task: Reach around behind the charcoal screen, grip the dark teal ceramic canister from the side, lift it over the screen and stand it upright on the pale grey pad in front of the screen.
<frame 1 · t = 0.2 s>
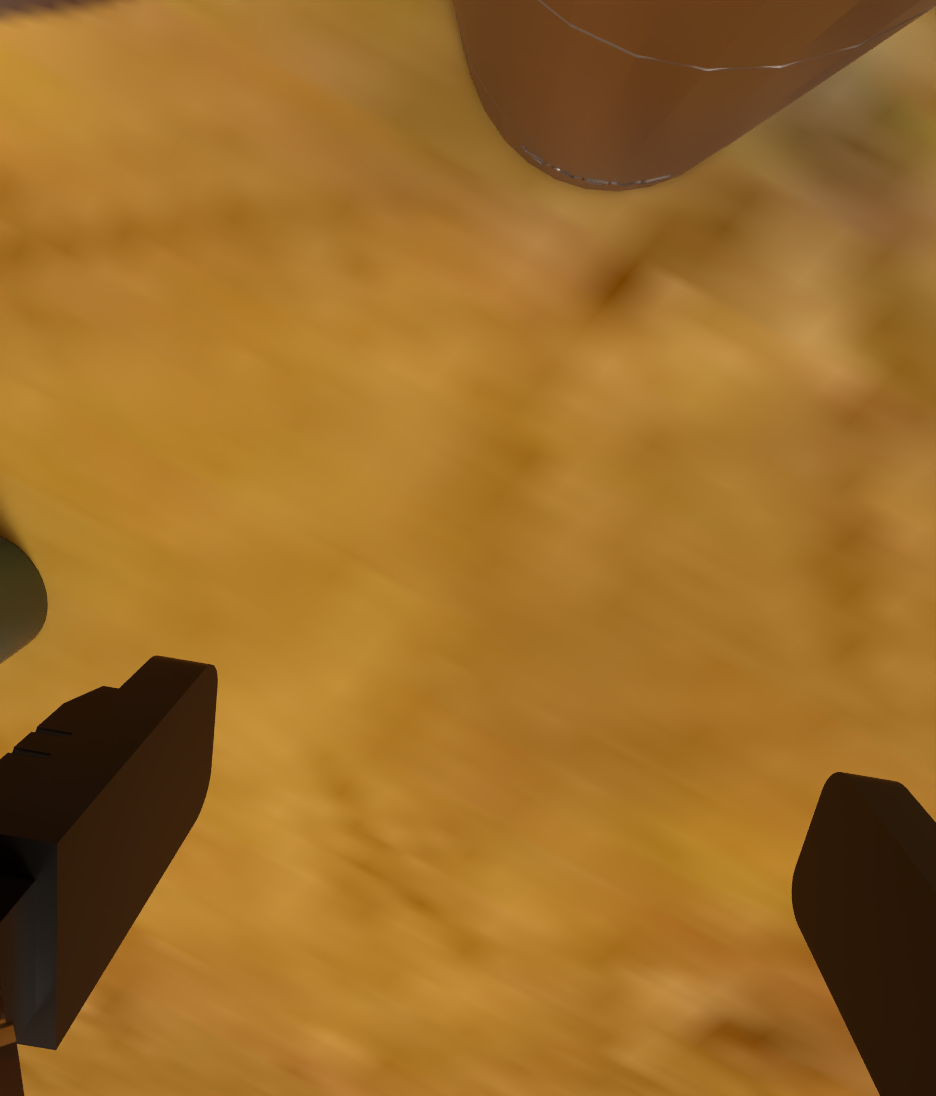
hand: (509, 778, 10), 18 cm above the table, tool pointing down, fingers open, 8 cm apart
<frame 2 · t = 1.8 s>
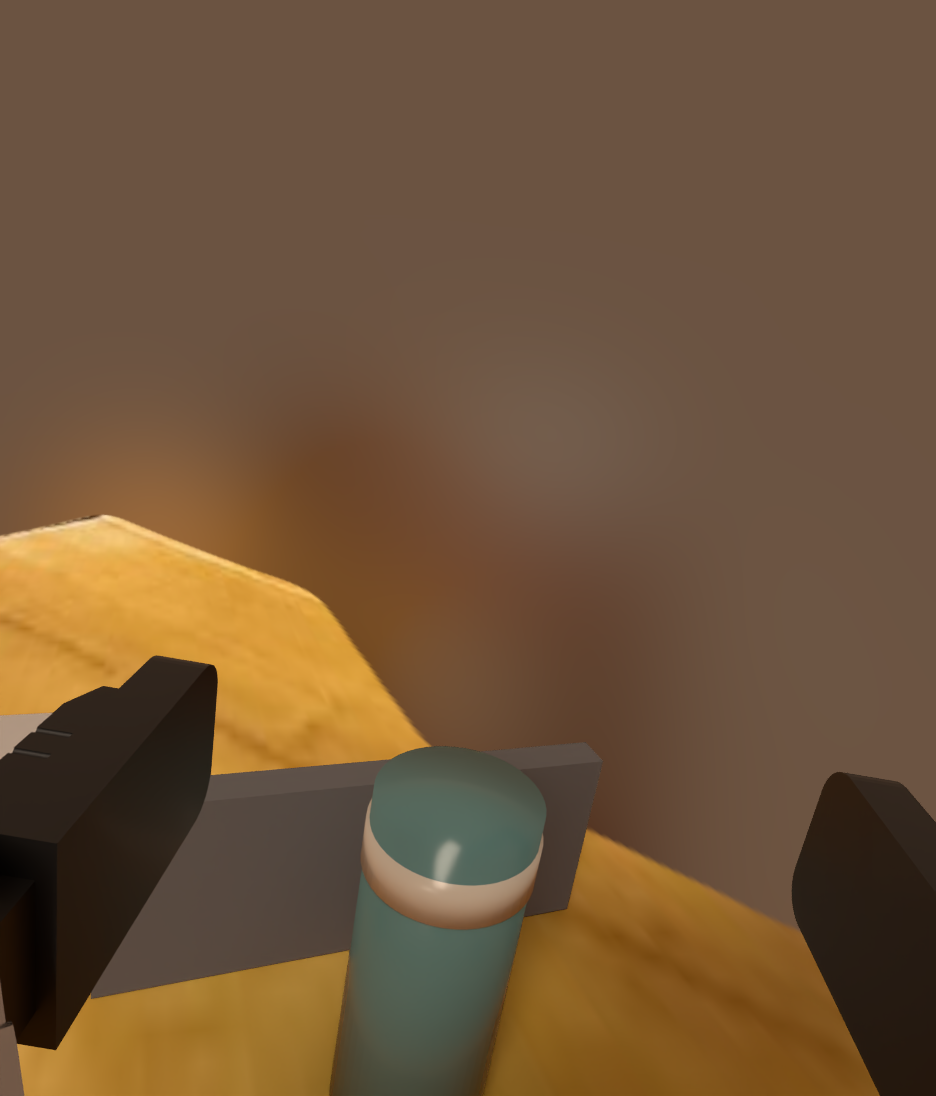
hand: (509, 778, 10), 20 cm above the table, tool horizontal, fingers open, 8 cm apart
screen: (354, 934, 33), on the table
pad: (11, 794, 37), on the table
canister: (405, 1090, 27), on the table
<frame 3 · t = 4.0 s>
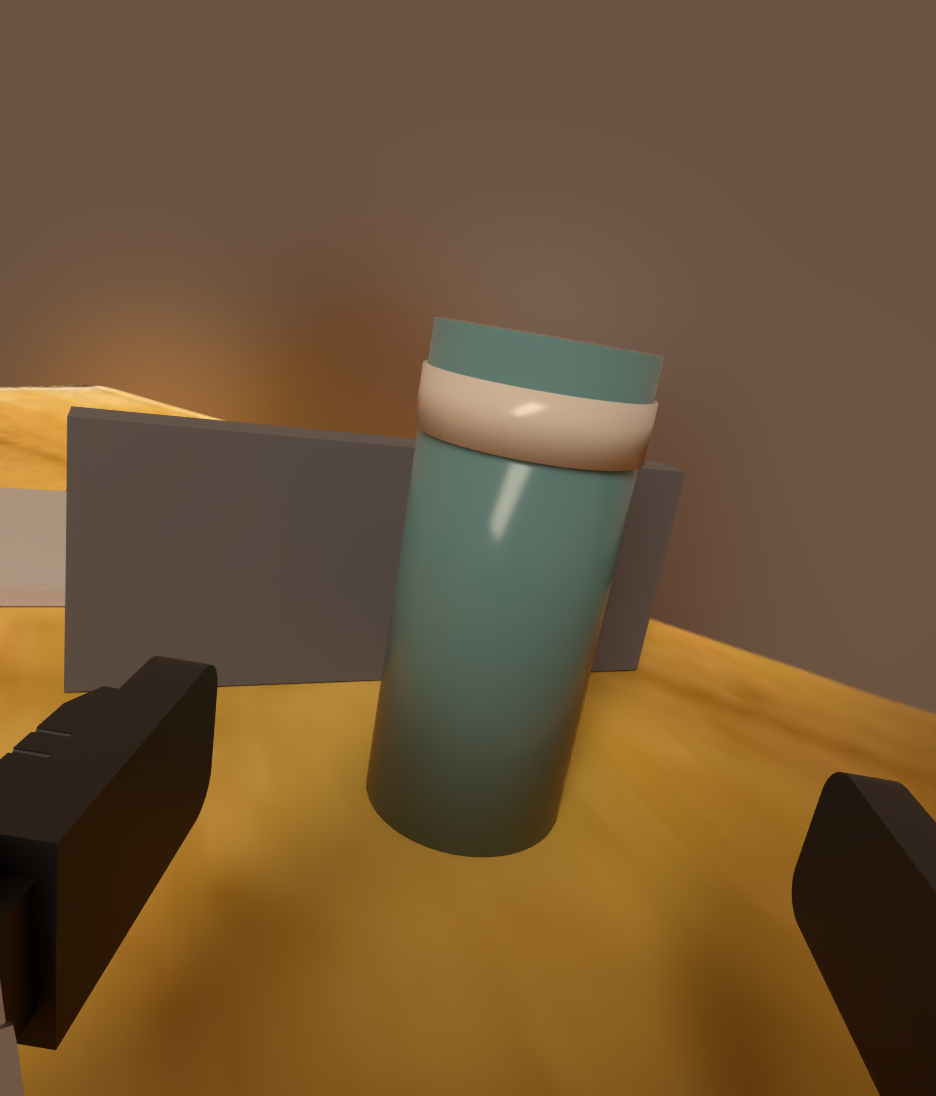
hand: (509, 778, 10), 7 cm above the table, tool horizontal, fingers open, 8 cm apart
screen: (388, 668, 27), on the table
canister: (462, 790, 21), on the table
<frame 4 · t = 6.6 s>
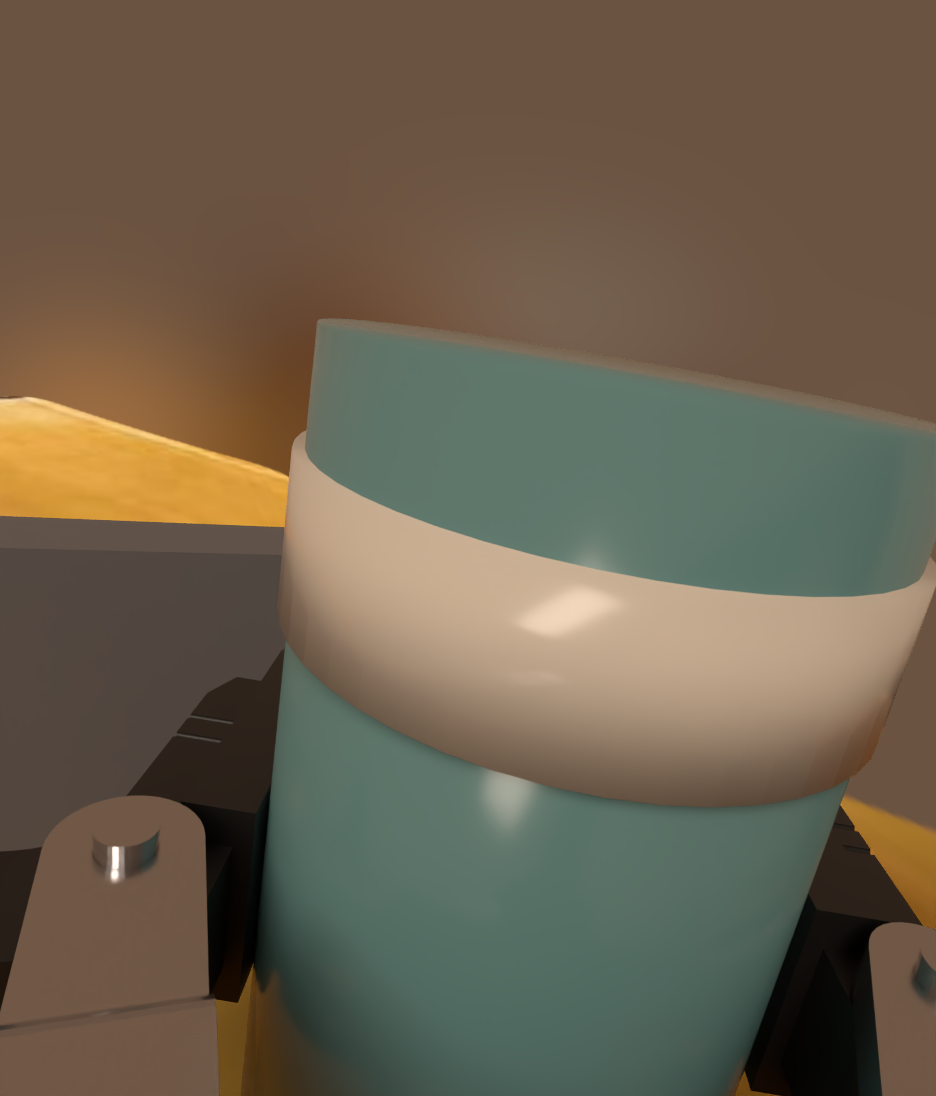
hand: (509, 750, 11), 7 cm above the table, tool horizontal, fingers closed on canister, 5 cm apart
screen: (315, 902, 16), on the table
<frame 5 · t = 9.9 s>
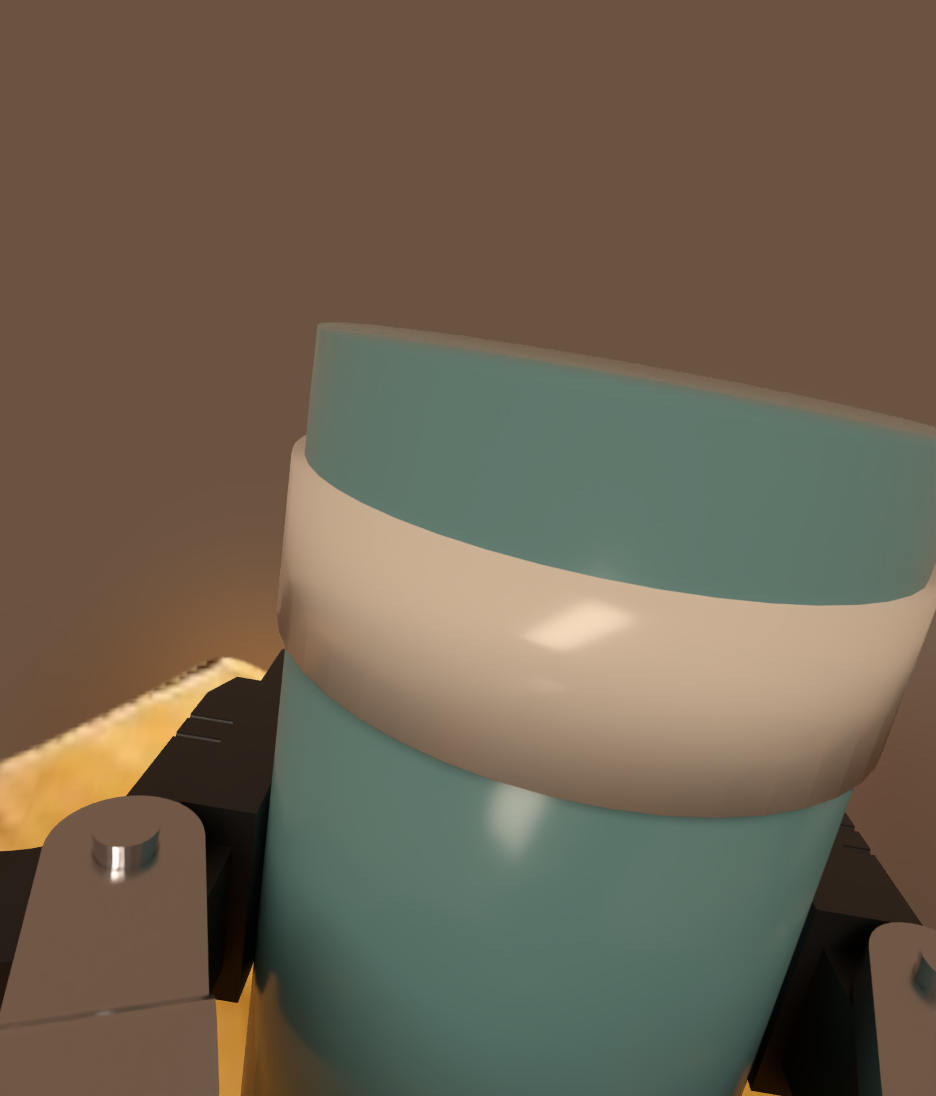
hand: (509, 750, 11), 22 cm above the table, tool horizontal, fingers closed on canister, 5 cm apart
when the fingers open (8 cm above the table, at t = 13.1 s): canister drops 1 cm, resting on pad.
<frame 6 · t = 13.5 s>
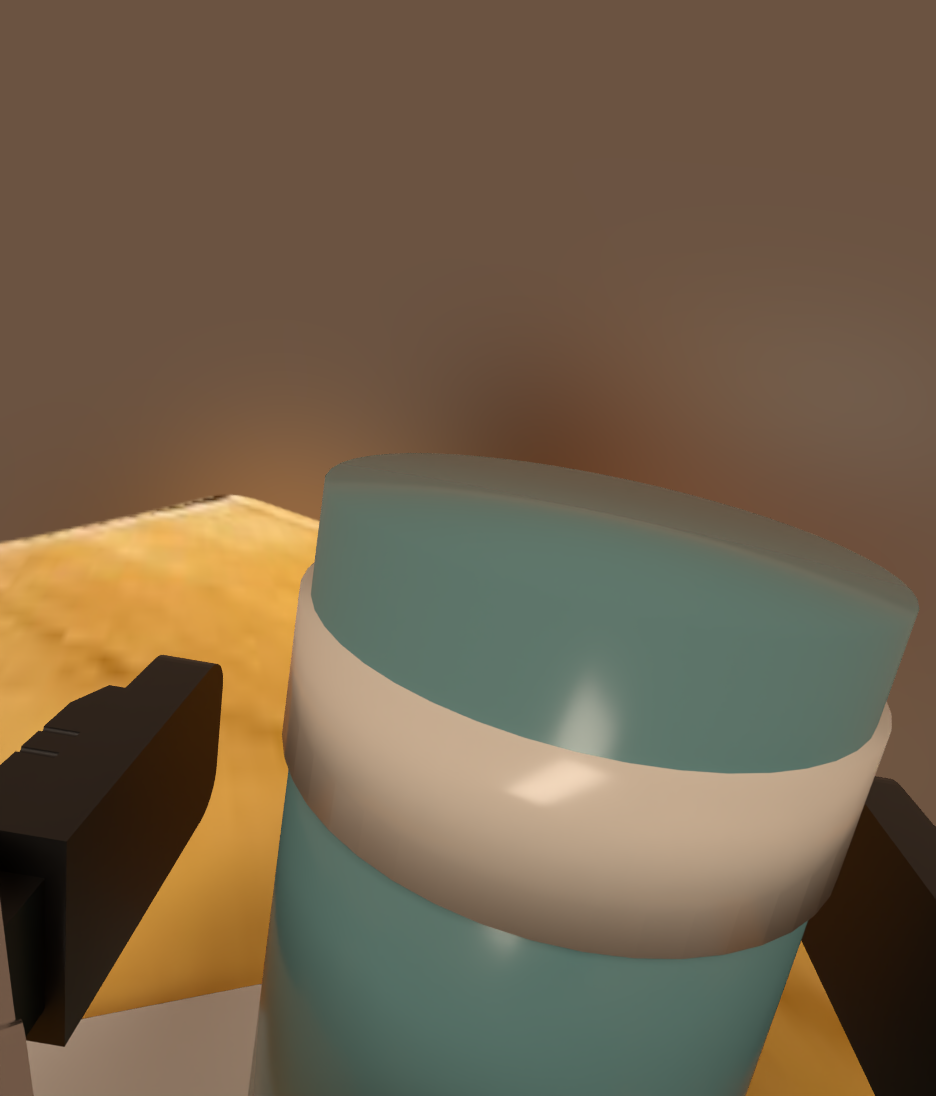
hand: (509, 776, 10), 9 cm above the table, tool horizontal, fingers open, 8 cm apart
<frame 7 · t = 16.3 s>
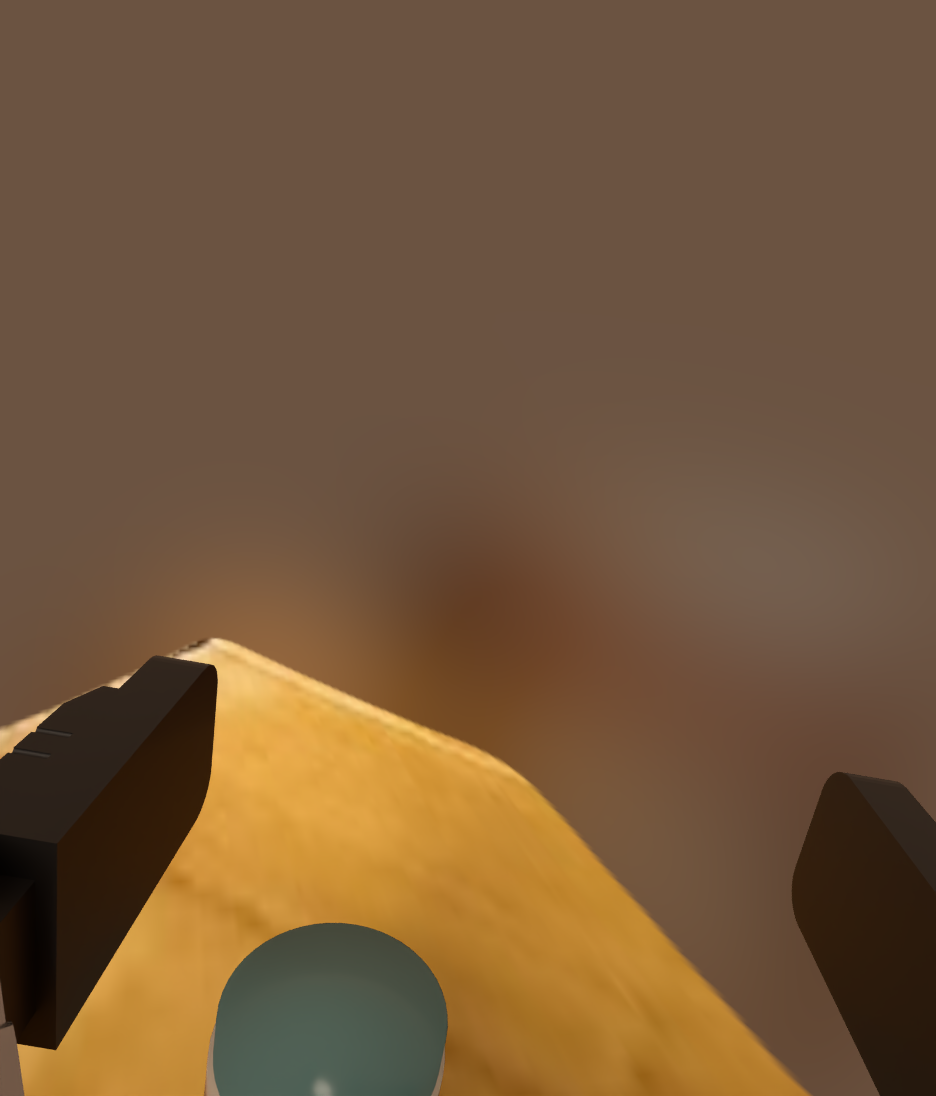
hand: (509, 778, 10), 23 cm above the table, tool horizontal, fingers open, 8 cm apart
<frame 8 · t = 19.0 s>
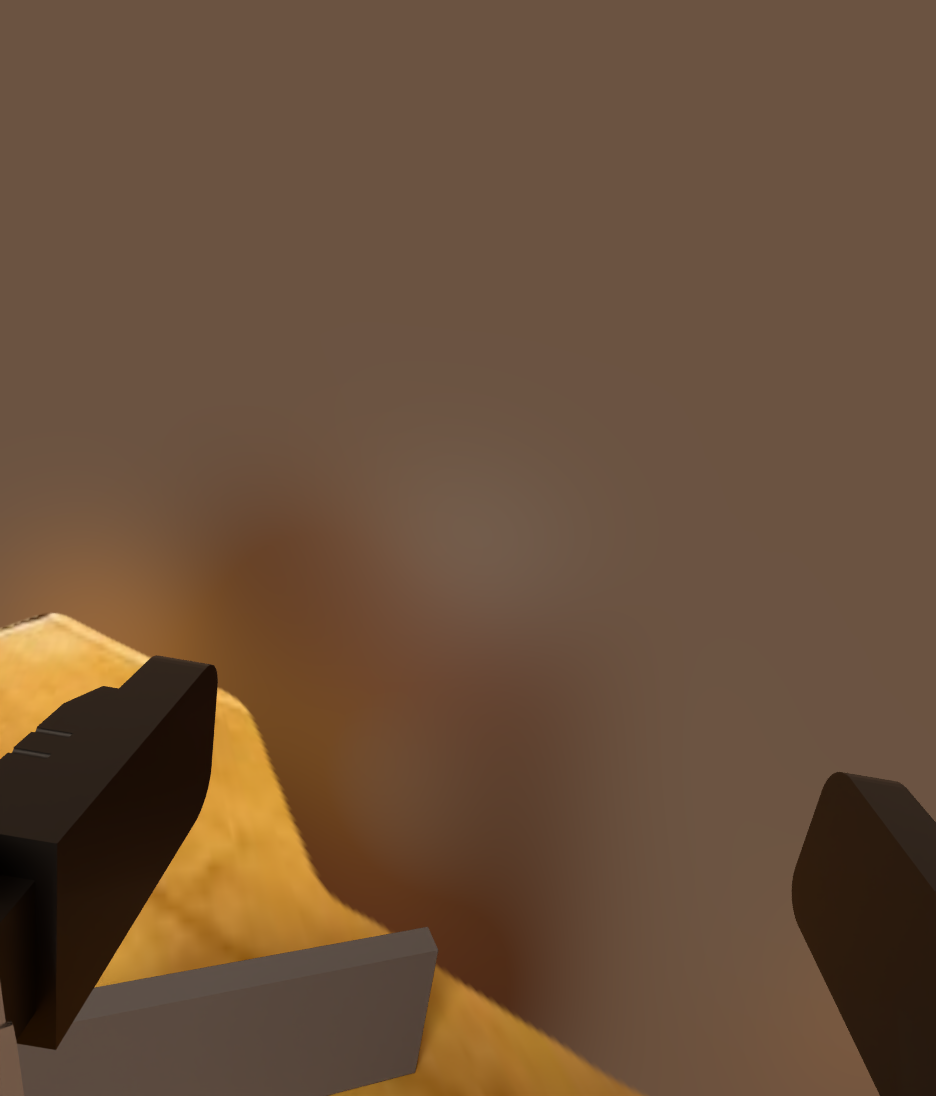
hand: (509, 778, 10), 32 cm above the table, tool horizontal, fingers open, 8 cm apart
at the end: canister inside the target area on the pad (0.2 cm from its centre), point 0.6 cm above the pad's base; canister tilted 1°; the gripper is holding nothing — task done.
